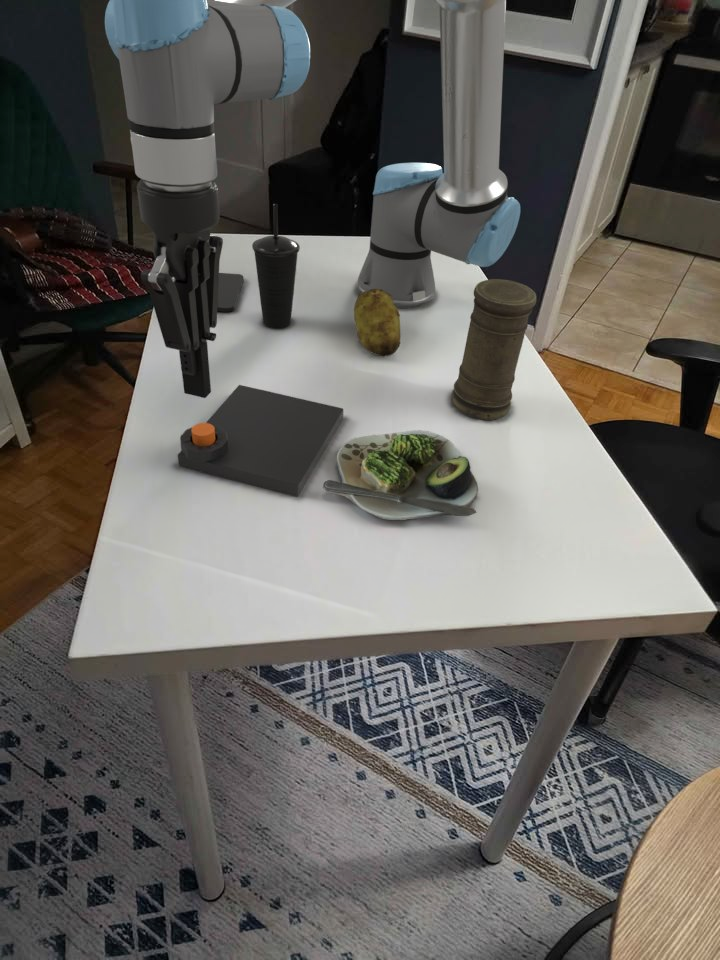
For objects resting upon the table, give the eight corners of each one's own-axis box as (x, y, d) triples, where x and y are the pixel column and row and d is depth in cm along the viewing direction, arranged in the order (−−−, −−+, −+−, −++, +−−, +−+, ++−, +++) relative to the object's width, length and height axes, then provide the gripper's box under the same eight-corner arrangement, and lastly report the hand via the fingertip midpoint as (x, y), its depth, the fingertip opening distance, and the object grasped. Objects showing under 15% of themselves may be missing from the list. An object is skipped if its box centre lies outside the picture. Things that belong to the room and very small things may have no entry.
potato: (347, 359, 106) (350, 313, 100) (353, 323, 115) (357, 280, 110) (398, 364, 105) (403, 318, 100) (400, 328, 115) (405, 285, 110)
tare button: (199, 431, 82) (198, 420, 81) (219, 436, 82) (218, 425, 81) (188, 444, 80) (187, 432, 79) (209, 449, 80) (208, 437, 79)
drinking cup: (271, 336, 110) (269, 215, 97) (246, 319, 114) (241, 201, 101) (307, 325, 114) (309, 207, 101) (281, 309, 118) (280, 194, 105)
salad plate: (336, 543, 73) (338, 513, 70) (307, 449, 86) (308, 420, 83) (494, 523, 78) (502, 494, 75) (443, 436, 91) (448, 408, 88)
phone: (191, 305, 114) (206, 271, 126) (191, 310, 115) (206, 275, 126) (233, 308, 115) (244, 274, 126) (233, 312, 115) (244, 278, 127)
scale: (237, 395, 95) (236, 374, 93) (343, 419, 92) (344, 398, 90) (175, 467, 81) (171, 445, 79) (296, 499, 78) (296, 476, 76)
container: (509, 425, 94) (541, 310, 83) (448, 414, 95) (471, 299, 83) (509, 393, 101) (539, 282, 89) (452, 383, 102) (474, 273, 90)
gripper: (175, 159, 67) (195, 361, 82) (101, 191, 57) (139, 413, 72) (242, 170, 66) (250, 373, 81) (178, 205, 56) (200, 429, 71)
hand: (197, 392), depth 76 cm, fingers closed
